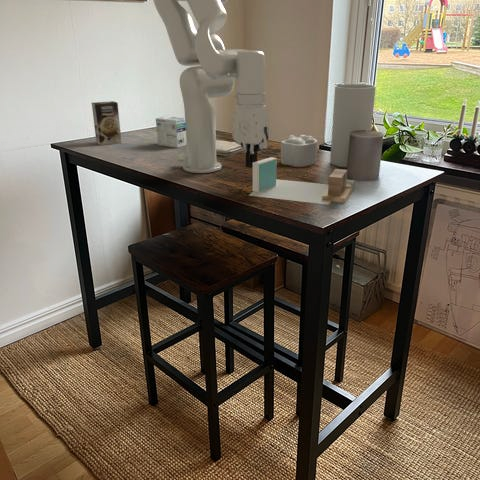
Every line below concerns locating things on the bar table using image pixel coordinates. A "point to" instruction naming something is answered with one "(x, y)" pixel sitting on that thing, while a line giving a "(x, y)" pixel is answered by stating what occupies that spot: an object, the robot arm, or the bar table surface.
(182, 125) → the light bulb box
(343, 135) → the cylinder vase
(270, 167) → the tile
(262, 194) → the mat
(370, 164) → the pillar candle
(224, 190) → the bar table surface
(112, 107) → the coffee box
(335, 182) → the light wood block
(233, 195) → the bar table surface
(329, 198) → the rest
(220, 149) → the washcloth
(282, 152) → the lumpy-topped squat cylinder
